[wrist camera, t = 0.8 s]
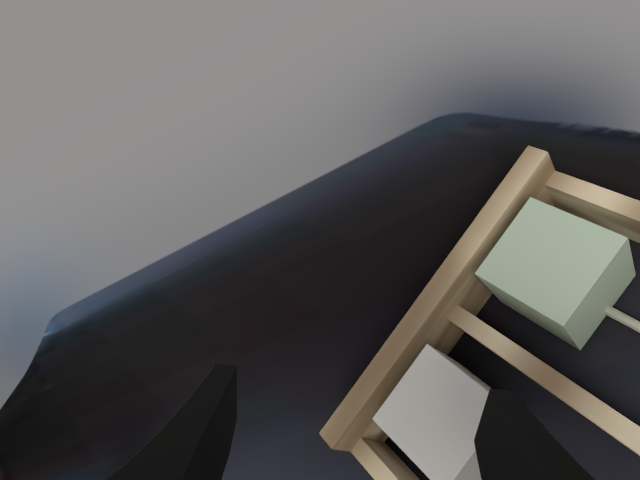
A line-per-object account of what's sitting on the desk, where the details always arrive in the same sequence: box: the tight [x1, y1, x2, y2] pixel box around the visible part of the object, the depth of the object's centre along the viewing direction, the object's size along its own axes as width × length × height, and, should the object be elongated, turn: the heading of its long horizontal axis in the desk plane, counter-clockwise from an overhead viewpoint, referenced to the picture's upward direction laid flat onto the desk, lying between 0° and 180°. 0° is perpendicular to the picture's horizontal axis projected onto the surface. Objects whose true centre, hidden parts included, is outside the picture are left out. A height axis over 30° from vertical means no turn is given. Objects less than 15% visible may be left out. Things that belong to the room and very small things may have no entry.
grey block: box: [373, 344, 492, 480], centre depth 25 cm, size 5×5×5 cm
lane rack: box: [319, 146, 640, 480], centre depth 24 cm, size 14×20×5 cm
